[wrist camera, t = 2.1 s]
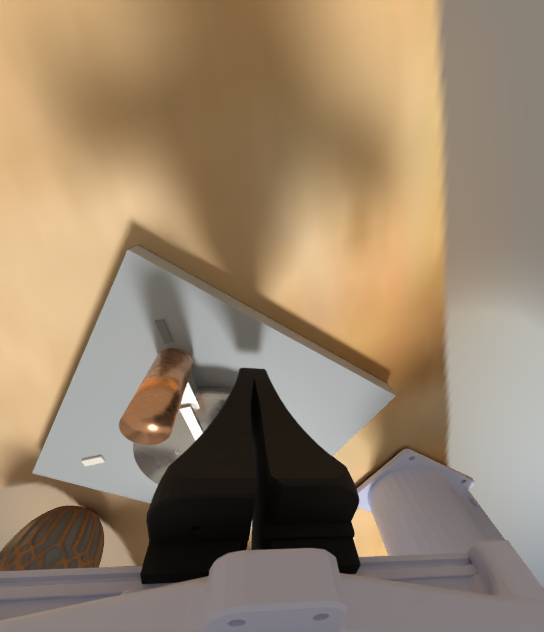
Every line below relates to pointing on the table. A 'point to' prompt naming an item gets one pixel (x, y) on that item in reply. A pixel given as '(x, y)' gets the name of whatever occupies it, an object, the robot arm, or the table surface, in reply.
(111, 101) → the table surface
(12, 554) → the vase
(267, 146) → the table surface
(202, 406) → the dial
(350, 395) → the board
